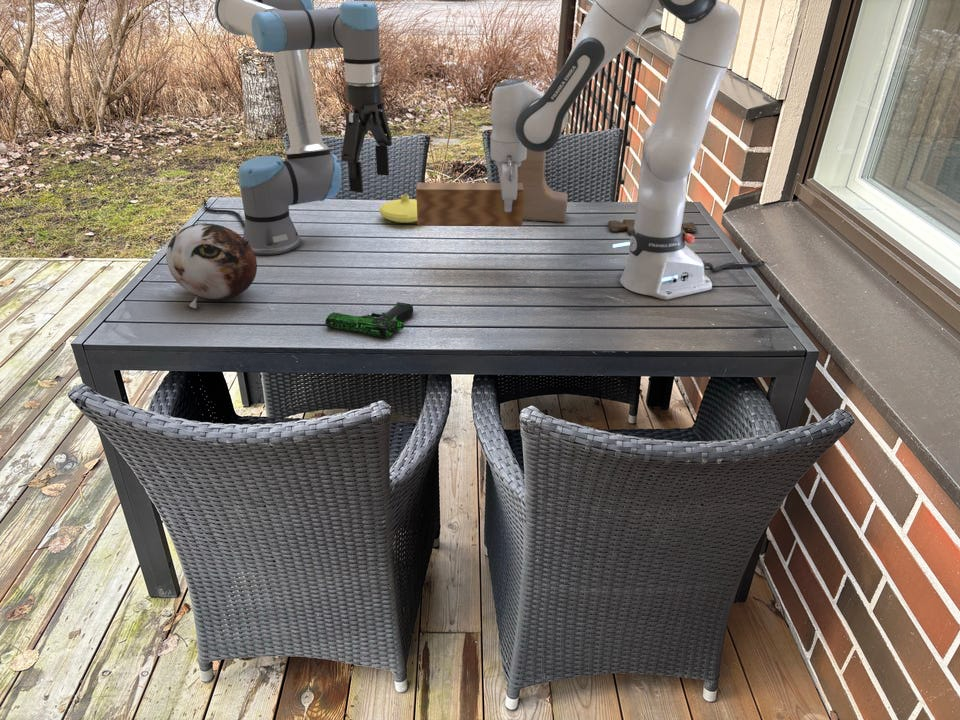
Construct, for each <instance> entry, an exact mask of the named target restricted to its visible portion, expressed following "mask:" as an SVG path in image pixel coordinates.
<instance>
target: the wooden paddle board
mask: <svg viewBox="0 0 960 720" xmlns="http://www.w3.org/2000/svg"><path fill="white" fill-rule="evenodd" d="M634 221H635V219H623V220H622V222H621V221H619V220H615V219H614V220H608V221H607V224H608V229H609V231H610V232H613V233H615V232H616V233H617V232H623V231H627V234H629V235H631V231H632V227H633V226H634ZM682 228H683V229H682ZM688 229H689V230H688ZM681 230H683V231H684V232H685V233H696V231H697V228H696V224H695V223H694V222H691V221H690V222H682V226H681ZM693 230H696V231H693Z"/></svg>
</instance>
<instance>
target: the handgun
mask: <svg viewBox="0 0 960 720" xmlns="http://www.w3.org/2000/svg"><path fill="white" fill-rule="evenodd" d="M413 305H414V304H413ZM413 305H412V304H410V303H406V302H399V301H397V302H396V304H395V305H394V306H393V307H391V308H390V309H389V310H388V311H386V312H382V313H381V314H380V313H376V312H375V313H374V312H372V313H371V314H366V315H361V316H357V315H352V314H344V313H341V312H331V313H330V314H328V315H327V316H326V318H325V322H324V323H325V326H326V327H327V328H332V329H337V330H346V331H350V332H357V333H362V334H366V335H369V336H374V337H375V338H381V339H388V338H390V337H391V336H393V335H394V334H396V332H397V331H401V330H403V329H404V328H405V324H404V323H403V322H404V321H406V320H409V319H410V318H411V317H412V316H413V315H414V306H413Z"/></svg>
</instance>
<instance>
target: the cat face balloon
mask: <svg viewBox="0 0 960 720" xmlns="http://www.w3.org/2000/svg"><path fill="white" fill-rule="evenodd" d="M248 242H249V241H246V240H245V239H244V238H243V236H242V235H240V234H239V233H238V232H236V231H234V230H233V229H231V228H229V227H226V226H223V225H220V224H215V223H205V222H204V223H195V224H191V225H188V226H186V227H183V228H182V229H180V230H179V231H177V232H176V233H175V234H174V235H173V237H171V239H170V241H169V243H168V245H167V248H166V254H165V260H166V265H167V268H168V271H169V273H170V275H171V276H172V277H173V279H174V280H175V281H176V282H177V284H178V285H180V286H181V287H182V288H183V289H185V290H186V291H187V292H189V293H191V294H194V295H195V298H194V299H193V300H192V302H190V303H189V304H188V306H189V307H191V308H192V309H197V308H198V307H197V298H198V297H201V298H205V299H210V300H226V299H230V298H233V297H236V296H238V295H241V294H242V293H244V292H245V291H247V290H248V289H249V288H250V286H251V285H252V284H253V282H254V280H255V278H256V275H257V271H258V262H257V257H256V254H254V252H253V250H252V248H251V247H250V245H249V244H248Z"/></svg>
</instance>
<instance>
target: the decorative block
mask: <svg viewBox="0 0 960 720" xmlns="http://www.w3.org/2000/svg"><path fill="white" fill-rule="evenodd" d="M546 152H547V150H546V151H543V152H535V151H531V150H529V149H527V158H526V159H525V160H524V161H521V166H519V167H517V170H518V183H522V185H523V189H524V194H523V218H522V221H539V222H541V221H542V222H555V223H556V222H557V223H565V222H566V220H567V212H568V211H567V209H568V194H567V193H566V192H561V191H557V190H553V189H552V188H551V187H550V186H548V183H547V180H546V176H545V171H546V170H545V169H546V156H547V155H546V154H547V153H546Z"/></svg>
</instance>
